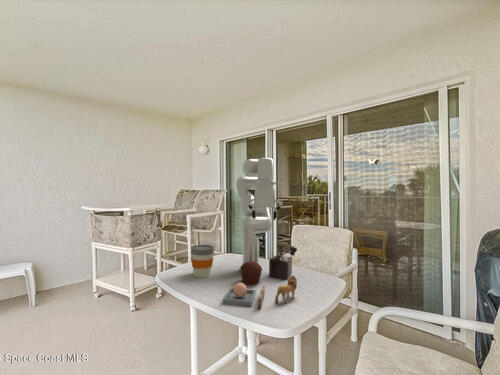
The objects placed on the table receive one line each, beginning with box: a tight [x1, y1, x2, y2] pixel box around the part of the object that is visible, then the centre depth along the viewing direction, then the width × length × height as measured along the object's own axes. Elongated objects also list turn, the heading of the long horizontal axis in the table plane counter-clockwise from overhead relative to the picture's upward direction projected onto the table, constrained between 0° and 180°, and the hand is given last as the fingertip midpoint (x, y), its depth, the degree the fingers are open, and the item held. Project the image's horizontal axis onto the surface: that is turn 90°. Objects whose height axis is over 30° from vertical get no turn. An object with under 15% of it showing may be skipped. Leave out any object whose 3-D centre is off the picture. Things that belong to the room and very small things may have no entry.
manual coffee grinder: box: [268, 245, 298, 280], centre depth 133 cm, size 16×11×18 cm
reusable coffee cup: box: [190, 244, 215, 279], centre depth 133 cm, size 13×13×15 cm
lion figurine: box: [274, 275, 298, 305], centre depth 105 cm, size 15×5×9 cm, turn 142°
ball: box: [232, 282, 248, 298], centre depth 105 cm, size 6×6×6 cm
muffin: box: [239, 261, 263, 286], centre depth 124 cm, size 12×11×10 cm
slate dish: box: [222, 287, 257, 307], centre depth 105 cm, size 12×12×2 cm
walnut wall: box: [257, 285, 266, 310], centre depth 102 cm, size 13×1×4 cm, turn 171°
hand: (264, 219), depth 116 cm, fingers open, 9 cm apart
